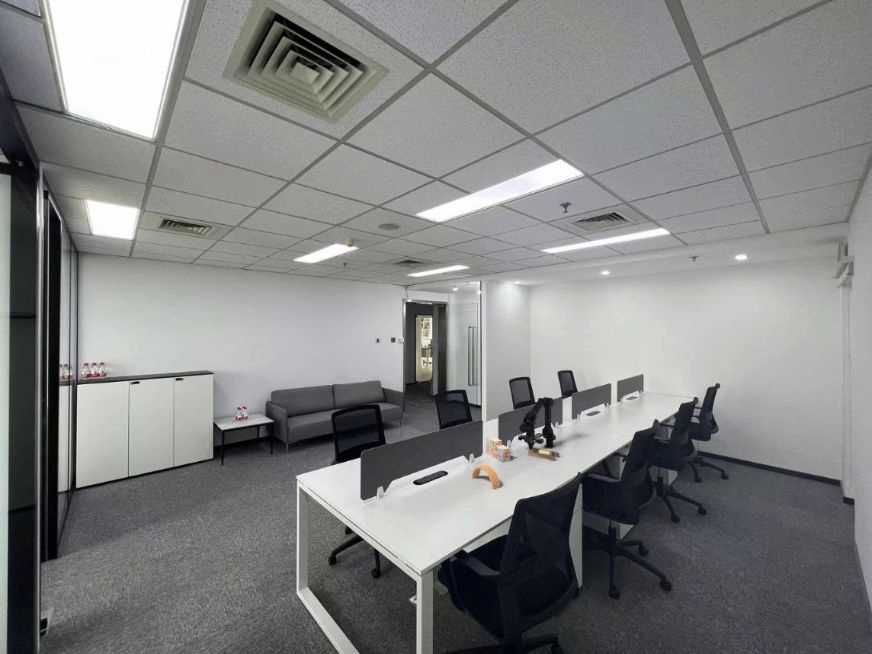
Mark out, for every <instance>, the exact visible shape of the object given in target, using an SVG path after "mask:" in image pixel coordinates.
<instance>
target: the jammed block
mask: <svg viewBox="0 0 872 654" xmlns="http://www.w3.org/2000/svg"><path fill="white" fill-rule="evenodd" d="M539 449H540V450H539V453H542V454H547V455H552V451H553V450H552V449H550V448H545V447H544V448H542V447H541V448H539Z"/></svg>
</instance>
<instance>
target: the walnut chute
mask: <svg viewBox="0 0 872 654" xmlns="http://www.w3.org/2000/svg"><path fill="white" fill-rule="evenodd" d="M540 449H541V448H537V447H533V448H532V451H530V450H528V451H527V456H530V457H534V458H538V459H544V460H549V461H553V462H555V461H556V458H560V452H557V451H553V450H552V455H547V454H542V453H539V450H540Z"/></svg>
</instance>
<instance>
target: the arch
mask: <svg viewBox="0 0 872 654" xmlns="http://www.w3.org/2000/svg"><path fill="white" fill-rule="evenodd" d="M481 471H484V473H486V475H487V476H488V477H489V479H490V483H491V488H492V489H495V490H498V489H500V488H501V483H500V478H499V475H498V474H497V472H496V471H495V469H493V468H492V467H491V466H490V465H487V464H483V465H481V466H477V467H475V468H474V469H473V470H472V473H471V479H472V480H475V479H477V478H478V479H479V478H480V473H481ZM497 488H498V489H497Z"/></svg>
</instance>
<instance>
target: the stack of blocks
mask: <svg viewBox="0 0 872 654" xmlns="http://www.w3.org/2000/svg"><path fill="white" fill-rule="evenodd" d="M485 442H486V443H485V445H486V446H485V447H486V451H485V452H486V454H487V455H489V456H491V457H492V458H495V459H496V460H498V461H500V462H502V463H506V462H510V459H511V458H510V457H511V448H510V447H508V446H506V445H504V444H503V440H501V439H499V438H498V437H494V436H488V437H485Z"/></svg>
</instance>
